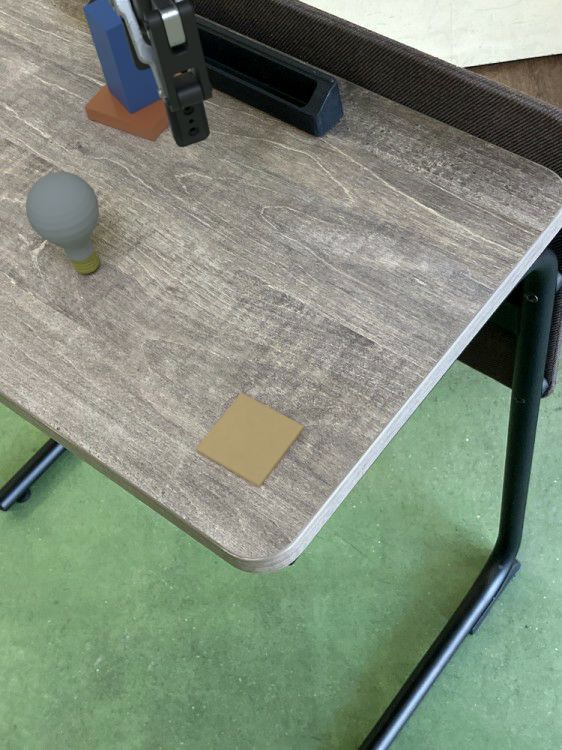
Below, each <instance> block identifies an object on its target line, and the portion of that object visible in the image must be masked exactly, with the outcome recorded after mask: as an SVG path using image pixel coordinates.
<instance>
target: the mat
mask: <svg viewBox="0 0 562 750" xmlns="http://www.w3.org/2000/svg"><path fill="white" fill-rule="evenodd" d="M304 429H305V426H304V425H303V424H302V423H299V422H297V421H295V420H293V419H292V418H290V417H288V416H287V415H285V414H283V413H281V412H279V411H277V410H275V409H273V408H271V407H269V406H267V405H265V404H264V403H262V402H260V401H258V400H256V399H254V398H252V397H251V396H249V395H247V394H245V393H243V392H240V393H239V394H238V396H236V398H235V400H233V401H232V403H231V405H229V407H228V408H227V410H225V412H224V413H223V414H222V415H221V417H220V418H219V420H217V422H216V423H215V424H214V426H213V427H212V428H211V429H210V430H209V432H208V433H207V434H206V435H205V436H204V438H203V439H202V440H201V441H200V443H198V446H197V447H195V450H196V452H197V453H198V454H200V455H202V456H204V457H206V458H207V459H209V460H210V461H213V462H214V463H216V464H217V465H220V466H221V467H222V468H225V469H226V470H228V471H230V472H231V473H233V474H235V475H236V476H238V477H240V478H242V479H243V480H245V481H247V482H249V483H251V484H252V485H254V486H256V487H257V488H261V487H262V485H263V484H264V482H266V480H267V479H268V477H269V476H270V475H271V473H272V472H273V471H274V469H275V468H276V466H278V465H279V463H280V461H281V460H282V459H283V457H284V456H285V455H286V453H287V452H288V451H289V450H290V448H291V447H292V445H293V444H294V443H295V442H296V440H297V439H298V437H300V435H301V433H303V431H304Z"/></svg>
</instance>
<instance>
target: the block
mask: <svg viewBox="0 0 562 750" xmlns="http://www.w3.org/2000/svg"><path fill="white" fill-rule="evenodd" d="M82 9H83V13H84V16H85V19H86V22H87V26H88V29H89V32H90V36H91V38H92V41H93V45H94V48H95V51H96V54H97V57H98V60H99V64H100V67H101V70H102V73H103V77H104V79H105V84H106V83H107V86H108V89H109V91H110V92H111V93H112V94H113V95H114V97H115V98H116V99H117V100H118V101H119V102H120V103H121V104H122V105H123V106H124V107H125V108H126V109H127V110H128V111H129V113H130V114H133V113H135V112H136V111H138V110H140V109H142V108H144V107H146V106H148V105H150V104H152V103H154V102H156V101H158V100H159V99H161V98H160V96H159V94H158V91H157V89H159V88H158V86H157V83H156V80H155V77H154V74H153V72H152V69H151V68H149V69H146V70H138V69H137V68H136V66H135V64H134V62H133V60H132V56H131V53H130V49H129V46H128V42H127V39H126V35H125V32H124V28H123V25H122V21H121V18H123V16H121V17H119V16H118V15H117V12H114V10H113V7H112V6H110V3H109V0H94V1H93V2H90V3H88V4H86V5H84V6H82Z"/></svg>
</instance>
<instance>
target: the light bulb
mask: <svg viewBox="0 0 562 750" xmlns="http://www.w3.org/2000/svg"><path fill="white" fill-rule="evenodd" d="M99 205H100V204H99V199H98V198H97V195H96V192H95V191H94V189H93V187H92V186H91V185H90V184H89V183H88V182H87V181H86V180H85V178H82V177H80V176H79V175H77V174H75V173H72V172H68V171H54V172H50V173H47V174H45V175H43V176H41V177H39V178H38V179H37V180H36V181H34V183H33V185H32V186H31V188H30V189H29V191H28V193H27V197H26V202H25V213H26V217H27V219H28V222H29V224H30V226H31V228H32V229H33V230H34V231H35V233H36V234H37V235H38V236H39V237H41V238H42V239H43V240H45V241H47V242H49V243H51V244H53V245H55V246H57V247H59V248H62V249H63V250H64V252H65V254H66V256H67V258H68V259H69V260H70V262H71V264H72V266H73V269H74V270H75V271H76V272H77V273H78V274H82V275H86V274H87V275H88V274H91V273H93V272H96V270H97V269H98V267H99V265H100V259H99V257H98V255H97V252H96V250H95V245H94V243H93V241H92V240H93V239H92V237H93V234H94V231H95V229H96V227H97V224H98V221H99V217H100V206H99Z"/></svg>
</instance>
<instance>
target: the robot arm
mask: <svg viewBox="0 0 562 750" xmlns="http://www.w3.org/2000/svg"><path fill="white" fill-rule="evenodd" d="M109 3H110V6H112V7H113V10H114V12H117V15H118V16H119V17H121V16H123V18H121V21H122V25H123V28H124V32H125V35H126V39H127V42H128V46H129V49H130V53H131V56H132V60H133V62H134V64H135V66H136V68H137V69H138V70H146V69H149V68H151V69H152V72H153V74H154V77H155V80H156V83H157V86H158V88H159V89H157V91H158V94H159V96H160V98H162V99H163V102H164V106H165V109H166V113H167V117H168V121H169V124H168V125H169V128H170V132H171V135H172V138H173V140H174V142H175V144H176V146H177V147H179V148H186V147H189V146H191V145H194V144H197V143H199V142H203V141H205V140H207V139H208V138H209V137H210V135H211V130H210V126H209V120H208V116H207V111H206V107H205V103H204V102H205V101H207V100H210V99H213V97H214V96H213V91H214V89H213V85H212V83H211V82H210V77H209V73H208V69H207V68H208V67H207V65H206V60H205V56H204V51H203V50H204V49H203V46H202V42H201V36H200V33H199V29H198V25H197V20H196V10H195V6H194V5H193V4H191V1H190V0H109ZM185 71H186V72H185ZM182 72H184V73H182ZM177 73H181V74H180V75H178V76H175V77H174V75H175V74H177Z"/></svg>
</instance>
